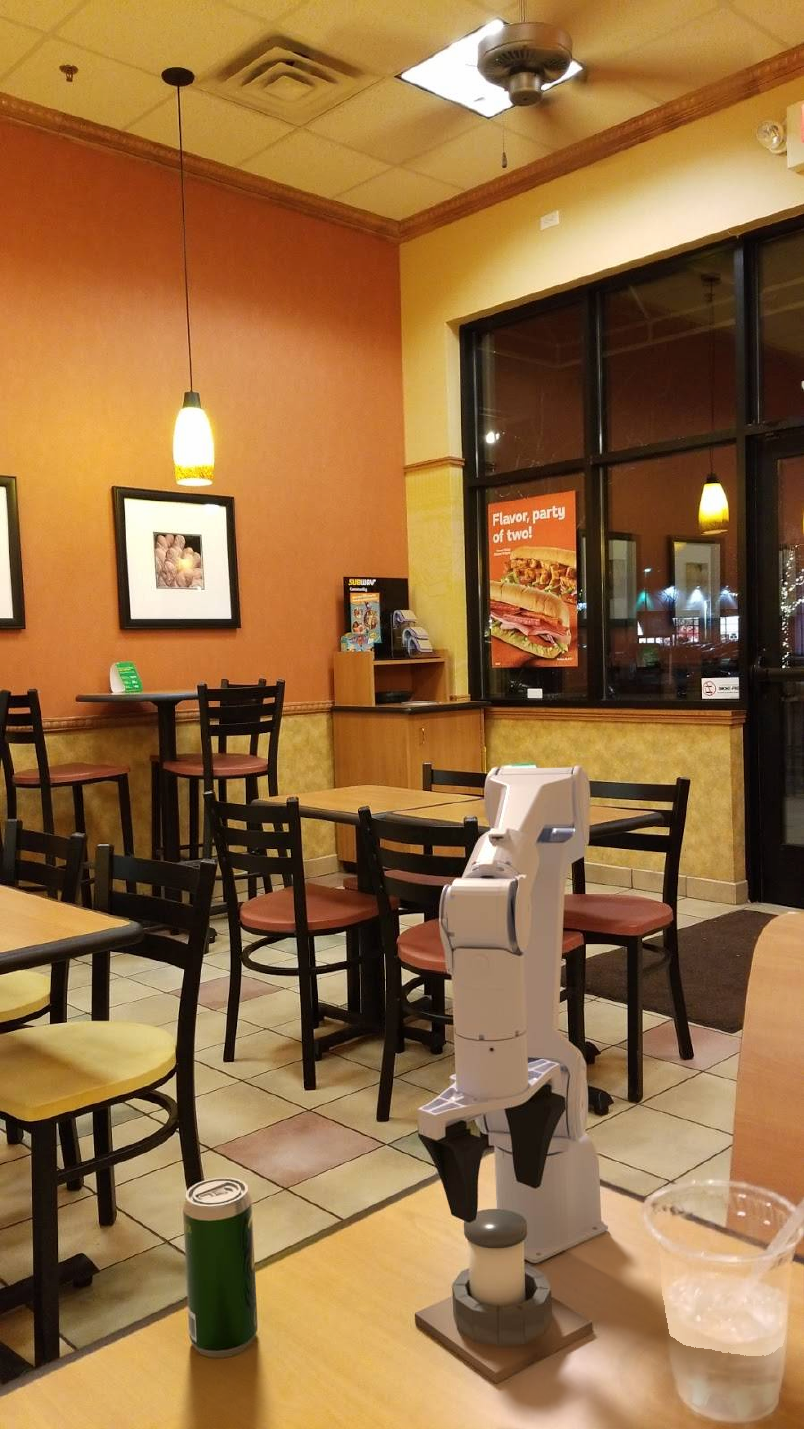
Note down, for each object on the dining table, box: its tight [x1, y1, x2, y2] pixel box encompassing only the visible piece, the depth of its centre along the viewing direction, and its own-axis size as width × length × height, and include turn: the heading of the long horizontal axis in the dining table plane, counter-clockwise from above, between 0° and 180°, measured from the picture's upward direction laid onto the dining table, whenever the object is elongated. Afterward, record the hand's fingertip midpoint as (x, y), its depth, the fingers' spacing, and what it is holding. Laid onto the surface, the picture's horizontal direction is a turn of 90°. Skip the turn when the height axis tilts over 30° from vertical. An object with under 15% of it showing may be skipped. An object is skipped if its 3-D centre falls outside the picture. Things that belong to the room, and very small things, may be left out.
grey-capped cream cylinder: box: [463, 1208, 527, 1307], centre depth 88 cm, size 5×5×8 cm
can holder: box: [414, 1263, 594, 1384], centre depth 88 cm, size 10×10×3 cm
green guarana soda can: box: [182, 1177, 259, 1359], centre depth 88 cm, size 5×5×12 cm
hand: (496, 1200), depth 88 cm, fingers open, 7 cm apart
